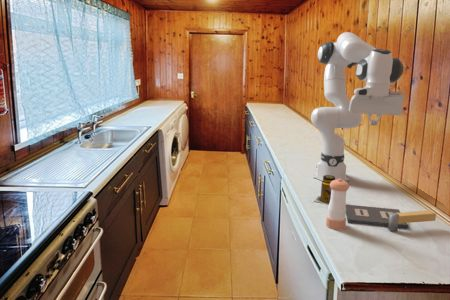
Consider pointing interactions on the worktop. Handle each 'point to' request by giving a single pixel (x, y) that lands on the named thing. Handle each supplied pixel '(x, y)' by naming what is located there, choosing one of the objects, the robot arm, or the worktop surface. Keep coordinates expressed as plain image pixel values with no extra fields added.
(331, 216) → the pepper shaker
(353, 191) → the worktop surface
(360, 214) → the board
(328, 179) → the condiment
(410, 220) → the tan piece
